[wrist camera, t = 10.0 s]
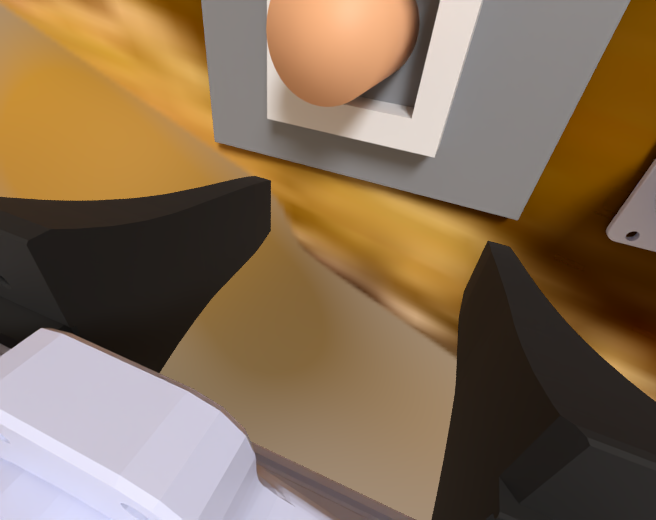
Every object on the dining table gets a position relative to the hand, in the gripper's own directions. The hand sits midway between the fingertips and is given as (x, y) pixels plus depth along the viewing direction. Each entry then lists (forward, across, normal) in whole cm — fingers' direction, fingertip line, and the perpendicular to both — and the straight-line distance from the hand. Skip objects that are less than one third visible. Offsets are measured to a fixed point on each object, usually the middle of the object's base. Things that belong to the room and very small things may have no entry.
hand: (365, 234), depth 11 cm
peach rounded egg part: (+8, +3, -5) cm, 10 cm away
